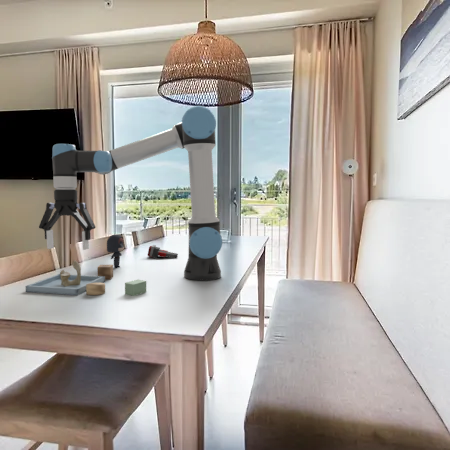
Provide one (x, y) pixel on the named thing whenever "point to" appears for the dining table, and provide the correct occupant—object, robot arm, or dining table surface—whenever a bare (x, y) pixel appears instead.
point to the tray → (55, 285)
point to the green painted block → (135, 287)
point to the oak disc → (95, 288)
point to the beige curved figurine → (66, 275)
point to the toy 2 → (160, 252)
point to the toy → (115, 248)
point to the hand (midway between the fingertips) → (68, 248)
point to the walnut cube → (105, 271)
